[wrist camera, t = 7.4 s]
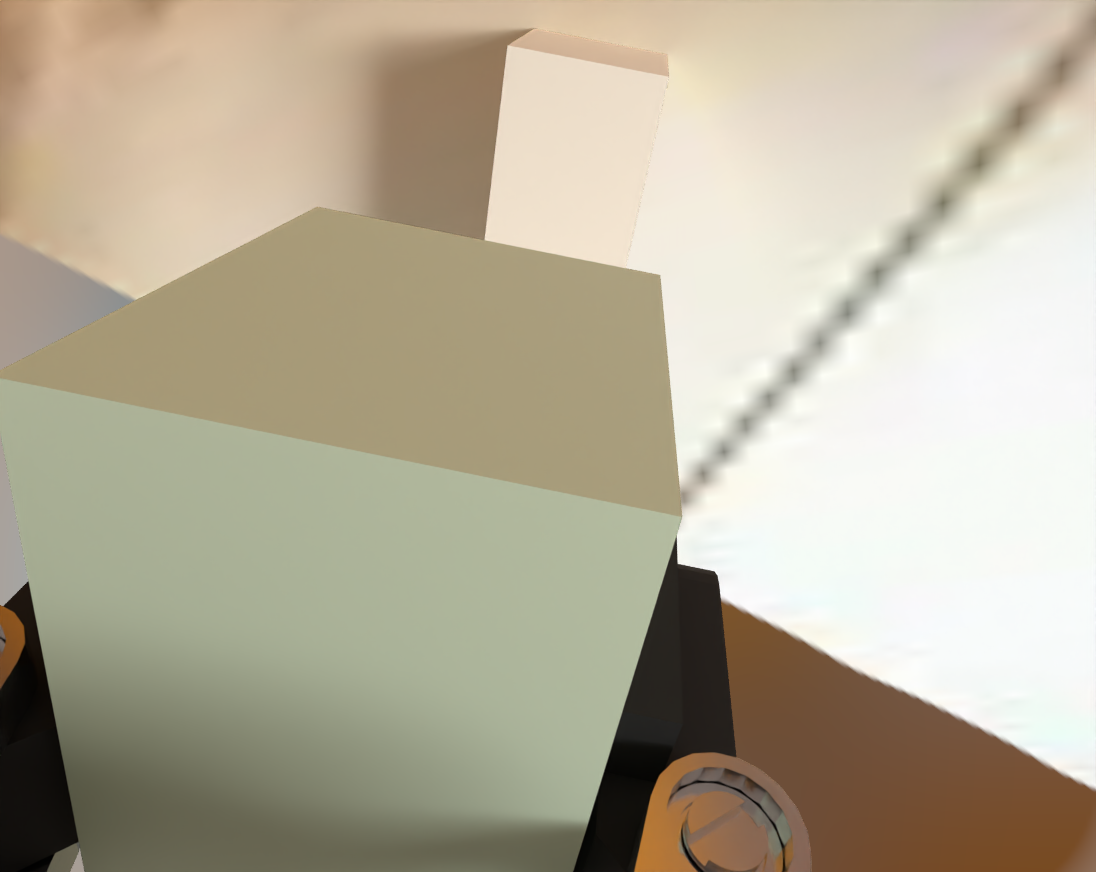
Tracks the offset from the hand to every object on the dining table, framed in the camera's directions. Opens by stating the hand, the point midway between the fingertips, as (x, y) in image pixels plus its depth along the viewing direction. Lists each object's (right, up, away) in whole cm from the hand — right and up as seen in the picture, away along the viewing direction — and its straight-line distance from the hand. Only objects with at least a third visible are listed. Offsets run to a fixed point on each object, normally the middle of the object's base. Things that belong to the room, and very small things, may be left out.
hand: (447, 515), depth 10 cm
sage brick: (0, 0, +1) cm, 0 cm away
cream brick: (+2, +9, +15) cm, 18 cm away
